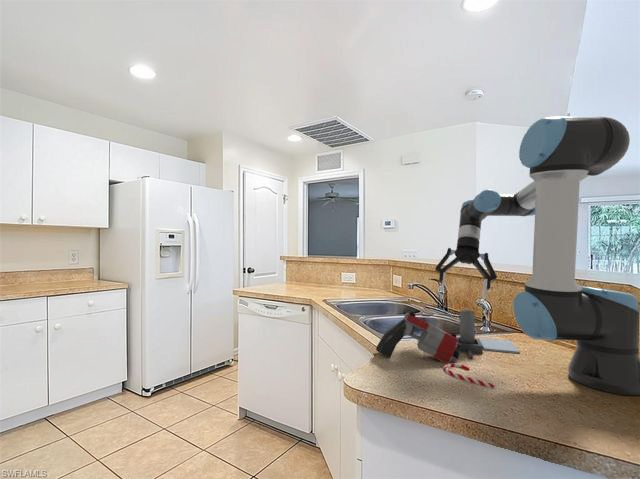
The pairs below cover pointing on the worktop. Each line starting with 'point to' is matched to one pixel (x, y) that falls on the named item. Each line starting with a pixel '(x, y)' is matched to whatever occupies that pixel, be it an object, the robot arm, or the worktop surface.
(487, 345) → the slate mat
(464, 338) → the rod
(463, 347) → the grey recessed block
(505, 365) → the worktop surface
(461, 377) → the candy cane
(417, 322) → the toy gun
